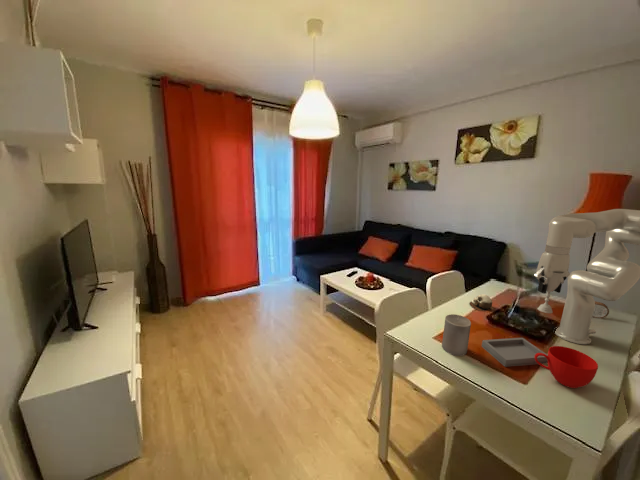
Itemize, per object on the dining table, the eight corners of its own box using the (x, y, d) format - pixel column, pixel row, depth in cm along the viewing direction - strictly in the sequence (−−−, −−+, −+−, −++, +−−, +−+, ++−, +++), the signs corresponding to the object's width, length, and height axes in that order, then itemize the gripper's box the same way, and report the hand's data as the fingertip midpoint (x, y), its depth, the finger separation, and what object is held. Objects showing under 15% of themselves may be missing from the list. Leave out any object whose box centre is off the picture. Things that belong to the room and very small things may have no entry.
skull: (463, 302, 157) (473, 288, 158) (471, 311, 161) (481, 297, 162) (481, 311, 146) (492, 296, 147) (490, 320, 150) (501, 306, 151)
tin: (605, 318, 143) (609, 303, 141) (607, 320, 140) (612, 305, 138) (568, 310, 151) (571, 296, 149) (569, 312, 148) (572, 298, 146)
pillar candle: (447, 339, 122) (450, 309, 119) (470, 349, 115) (475, 317, 112) (438, 349, 116) (441, 317, 112) (462, 359, 109) (467, 326, 105)
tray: (521, 343, 120) (522, 337, 119) (548, 363, 107) (550, 356, 106) (481, 346, 117) (482, 340, 117) (504, 366, 105) (506, 359, 104)
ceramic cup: (525, 362, 107) (530, 340, 105) (580, 374, 101) (587, 351, 99) (536, 385, 96) (542, 360, 93) (599, 400, 89) (607, 374, 87)
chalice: (559, 315, 111) (568, 273, 107) (540, 313, 113) (549, 272, 108) (548, 307, 118) (557, 267, 114) (531, 305, 120) (538, 266, 115)
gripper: (566, 247, 114) (558, 287, 118) (529, 248, 112) (522, 289, 116) (586, 251, 107) (576, 294, 111) (546, 253, 105) (538, 296, 109)
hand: (548, 291), depth 113 cm, fingers closed on chalice, 5 cm apart
